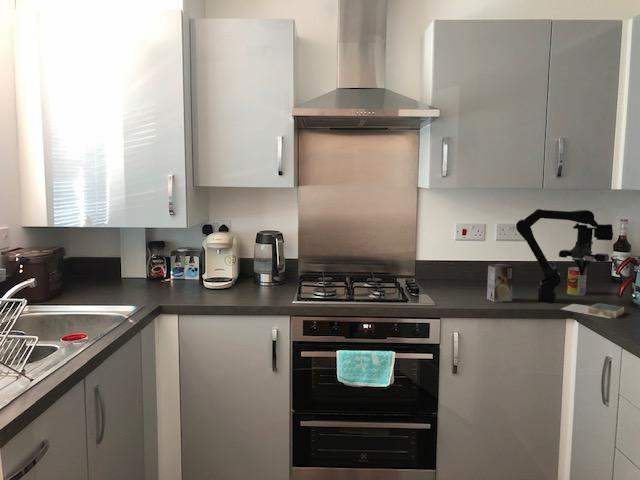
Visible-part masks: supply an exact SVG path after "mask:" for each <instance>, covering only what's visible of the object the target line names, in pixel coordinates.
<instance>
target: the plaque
mask: <svg viewBox="0 0 640 480" xmlns="http://www.w3.org/2000/svg"><path fill="white" fill-rule="evenodd" d="M588 313H591V314H597V315H602V316H608V317H612V318H614V319H616V318H618V317H620V316H622V315H624V314H625V307H624V306H623V307H622V306H618V305H614V304H613V305H611V304H607V303H600V302H597V303H596V304H592V305H590V307H589V311H588Z"/></svg>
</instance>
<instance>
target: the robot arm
mask: <svg viewBox="0 0 640 480" xmlns="http://www.w3.org/2000/svg"><path fill="white" fill-rule="evenodd" d="M540 219H550V220H560V221H561V220H562V221H571V222H575V223H576V224H574V225H573V226H572V228H573V230H577V235H576V241H575V245H574V246H573V247H572V249H562V250H560V251H559V252H558V257H559V258H567V257H571V258H572V259H571V261H574V262H575V263H576V266H577V267H578V268H579V271H580V275H581V276H583V275H584V274H585V272H586V270H588V267H589V266H590V265H591V263H592V262H600V263H605V262H609V261H610V256H609V254H608V253H602V252H598V253H595V254H593V251H592V248H593V247H592V246H593V243H594V241H593V238H596V241H612V240H613V237H614V232H613V231H614V230H613V224H611V223H610V224H609V223H607V224H601V223H600V224H598V222H597V221H596V219H595V214H594V213H593V212H592V211H591V210H588V209H581V210H580V209H578V210H571V211H567V210H554V209H553V210H551V209H542V208H537V209H535V210H534V211H533V212H532V213H531V214H529V215H528V216H527V217H525V218H524V219H522V218H521V219H519V220H518V221H517V222H516V223H515V226H516V227H515V229H516V230H517V232H518V233H519V234H520V236H521V237H522V238H523V239H524V241H526V243H527V245H528V246H529V248H530V250H531V252H532V253H533V255H534V257H535V259H536V260H537V262H538V264H539V266H540V268H541V271H542V273H543V276H544V278H543V279H542V280H540V282H539V284H540V287H538V299H537V300H536V301H535V302H536V303H545V304H554V303H556V302H557V295H558V294H557V289H556V287H558V286H559V285H560V284H561V277H562V276H561V273H560V272H559V271H558V269H557V266H556V265H554V266H553V267H552V265H551V264H550V263H549V261H548V259H547V258H546V255H545V254H544V252H543V250H542V249H541V247H540V245H539V243H538V242H537V240H536V238H535V235H534V233H533V230H532V228H531V227H532V226H533V225H535V224H536V223H537V222H538V221H539V220H540ZM588 225H590V226H591V227H589V226H588Z"/></svg>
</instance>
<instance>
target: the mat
mask: <svg viewBox="0 0 640 480" xmlns="http://www.w3.org/2000/svg"><path fill="white" fill-rule="evenodd" d="M590 306H591V305H590ZM590 306H589V305H584V304H578V303H572V304H569V305H566V306H565V307H562V308H561V310H563V311H569V312H574V313H580V314H585V315H591V316H595V317H599V318H600V317H601V318H606V319H612V318H613V317H608V316H602V315H597V314H591V313H588V311H589V307H590Z"/></svg>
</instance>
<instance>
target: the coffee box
mask: <svg viewBox="0 0 640 480" xmlns="http://www.w3.org/2000/svg"><path fill="white" fill-rule="evenodd" d="M513 285H514V265H512V264H507V263H495V264H494V263H492V264H491V263H490V264H489V263H488V264H487V288H486V289H487V293H486V294H487V295H486V299H487V300H488V299H489V300H488V301H490V300H491V302H492V301H493V303H503V301H504V303H505V301H506V302H513V293H514V292H513V289H514V286H513Z"/></svg>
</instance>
